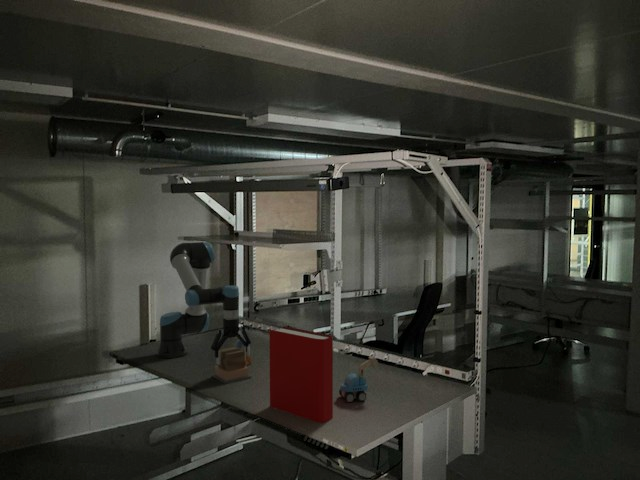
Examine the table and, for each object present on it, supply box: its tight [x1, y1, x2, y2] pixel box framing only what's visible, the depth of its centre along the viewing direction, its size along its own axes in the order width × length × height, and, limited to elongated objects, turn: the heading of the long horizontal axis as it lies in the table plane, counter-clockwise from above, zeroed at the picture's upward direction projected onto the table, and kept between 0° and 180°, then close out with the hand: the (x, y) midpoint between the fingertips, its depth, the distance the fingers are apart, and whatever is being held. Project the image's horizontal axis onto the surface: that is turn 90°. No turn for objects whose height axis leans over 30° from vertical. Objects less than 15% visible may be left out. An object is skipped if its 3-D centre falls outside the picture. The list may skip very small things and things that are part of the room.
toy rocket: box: [236, 339, 253, 367], centre depth 261 cm, size 10×11×15 cm
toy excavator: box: [338, 356, 379, 403], centre depth 216 cm, size 9×17×17 cm, turn 107°
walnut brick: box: [217, 346, 245, 371], centre depth 244 cm, size 10×9×8 cm
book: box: [269, 325, 334, 424], centre depth 201 cm, size 27×8×32 cm, turn 51°
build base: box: [211, 365, 252, 385], centre depth 245 cm, size 14×14×5 cm
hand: (231, 361), depth 245 cm, fingers open, 13 cm apart
